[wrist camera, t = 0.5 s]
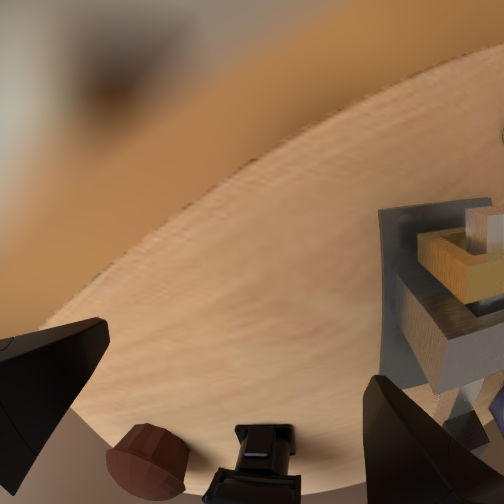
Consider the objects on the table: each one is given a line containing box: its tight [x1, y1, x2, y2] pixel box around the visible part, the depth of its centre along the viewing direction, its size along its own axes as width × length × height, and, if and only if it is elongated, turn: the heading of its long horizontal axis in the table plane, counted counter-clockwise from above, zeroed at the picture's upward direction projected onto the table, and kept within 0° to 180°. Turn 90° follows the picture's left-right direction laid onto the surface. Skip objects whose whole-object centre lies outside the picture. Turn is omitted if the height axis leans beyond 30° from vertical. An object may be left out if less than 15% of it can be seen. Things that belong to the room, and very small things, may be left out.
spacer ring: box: [417, 227, 504, 304], centre depth 13 cm, size 2×7×7 cm, turn 101°
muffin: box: [106, 423, 190, 501], centre depth 27 cm, size 12×11×10 cm
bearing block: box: [378, 197, 504, 395], centre depth 16 cm, size 18×11×10 cm, turn 11°
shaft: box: [433, 206, 504, 458], centre depth 12 cm, size 18×3×6 cm, turn 11°
